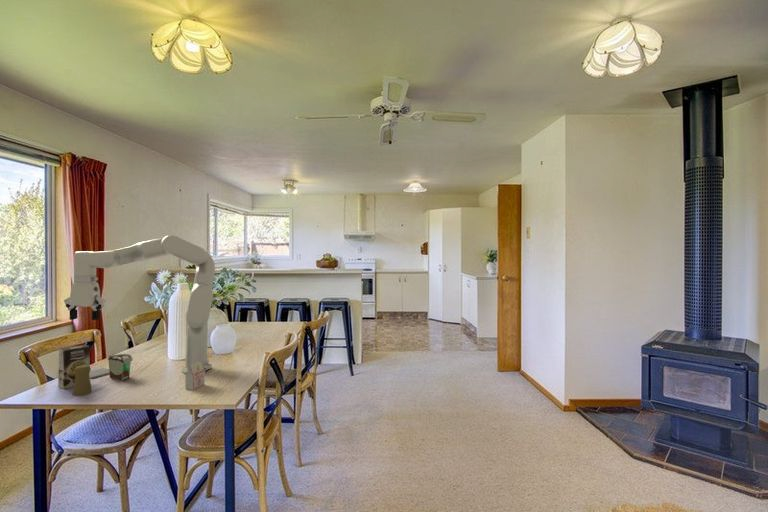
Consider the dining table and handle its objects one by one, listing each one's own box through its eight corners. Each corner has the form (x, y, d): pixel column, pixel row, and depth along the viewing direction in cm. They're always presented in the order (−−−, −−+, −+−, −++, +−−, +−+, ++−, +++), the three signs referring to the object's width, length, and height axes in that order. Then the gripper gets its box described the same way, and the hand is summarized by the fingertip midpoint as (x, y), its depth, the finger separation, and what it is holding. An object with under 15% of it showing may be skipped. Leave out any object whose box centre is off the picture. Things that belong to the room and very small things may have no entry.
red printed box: (185, 389, 152) (185, 365, 152) (197, 383, 159) (197, 361, 159) (192, 390, 151) (193, 366, 151) (204, 384, 158) (204, 361, 158)
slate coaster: (115, 372, 172) (115, 370, 172) (91, 379, 163) (91, 377, 163) (102, 369, 177) (102, 367, 177) (78, 375, 167) (78, 374, 167)
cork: (80, 396, 144) (80, 368, 144) (68, 395, 145) (68, 367, 145) (95, 390, 150) (95, 364, 150) (83, 389, 151) (83, 363, 151)
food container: (138, 377, 166) (138, 355, 165) (124, 382, 160) (124, 359, 160) (122, 373, 171) (122, 352, 171) (107, 377, 165) (107, 355, 165)
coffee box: (63, 389, 151) (63, 350, 151) (57, 386, 154) (58, 348, 154) (90, 382, 159) (90, 345, 159) (84, 380, 162) (84, 343, 162)
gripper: (111, 279, 160) (110, 318, 160) (73, 279, 161) (72, 317, 161) (97, 280, 153) (97, 321, 153) (57, 280, 153) (56, 320, 153)
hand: (84, 319), depth 157 cm, fingers open, 9 cm apart
